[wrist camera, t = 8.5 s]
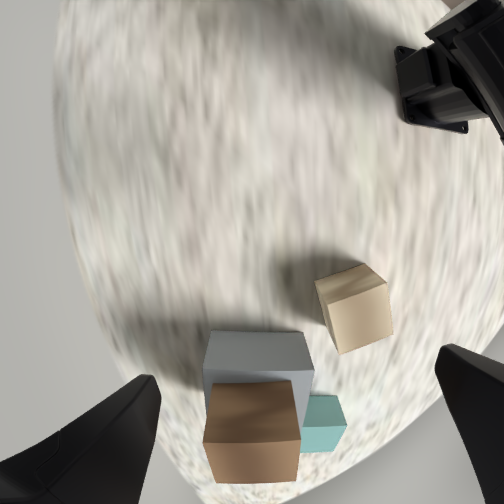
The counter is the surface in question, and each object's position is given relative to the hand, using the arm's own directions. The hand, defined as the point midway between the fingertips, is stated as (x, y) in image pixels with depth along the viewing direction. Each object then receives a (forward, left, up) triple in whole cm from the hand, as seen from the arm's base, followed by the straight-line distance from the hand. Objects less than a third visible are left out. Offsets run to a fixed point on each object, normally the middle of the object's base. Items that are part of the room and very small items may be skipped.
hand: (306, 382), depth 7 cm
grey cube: (+2, +9, -13) cm, 16 cm away
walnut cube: (+2, +9, -8) cm, 12 cm away
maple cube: (-5, +3, -13) cm, 14 cm away
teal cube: (-3, +15, -13) cm, 20 cm away
